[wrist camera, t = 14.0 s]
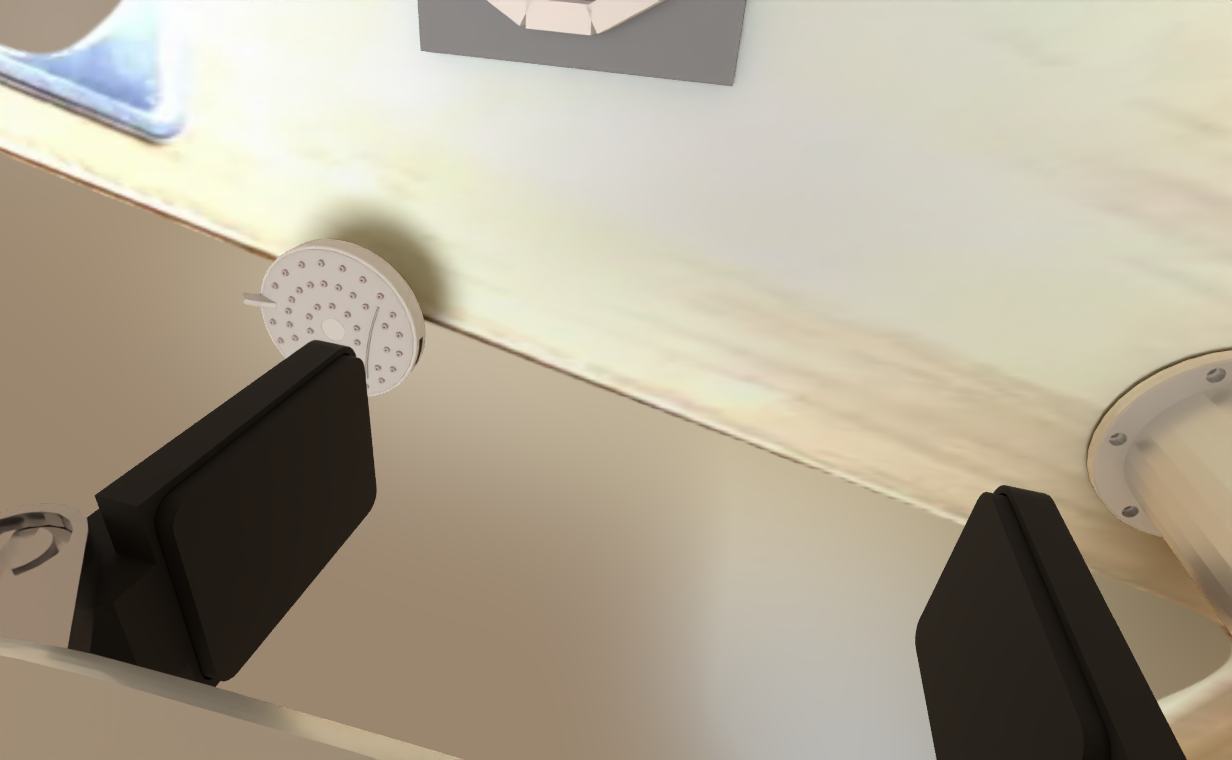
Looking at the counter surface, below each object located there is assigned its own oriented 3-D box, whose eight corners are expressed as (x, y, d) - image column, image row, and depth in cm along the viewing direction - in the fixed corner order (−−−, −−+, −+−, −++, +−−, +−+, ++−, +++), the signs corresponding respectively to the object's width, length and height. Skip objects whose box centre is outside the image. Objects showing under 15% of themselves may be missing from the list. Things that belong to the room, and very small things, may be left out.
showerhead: (240, 221, 35) (421, 293, 35) (318, 184, 41) (472, 246, 41) (236, 366, 40) (394, 429, 40) (306, 314, 46) (444, 369, 46)
